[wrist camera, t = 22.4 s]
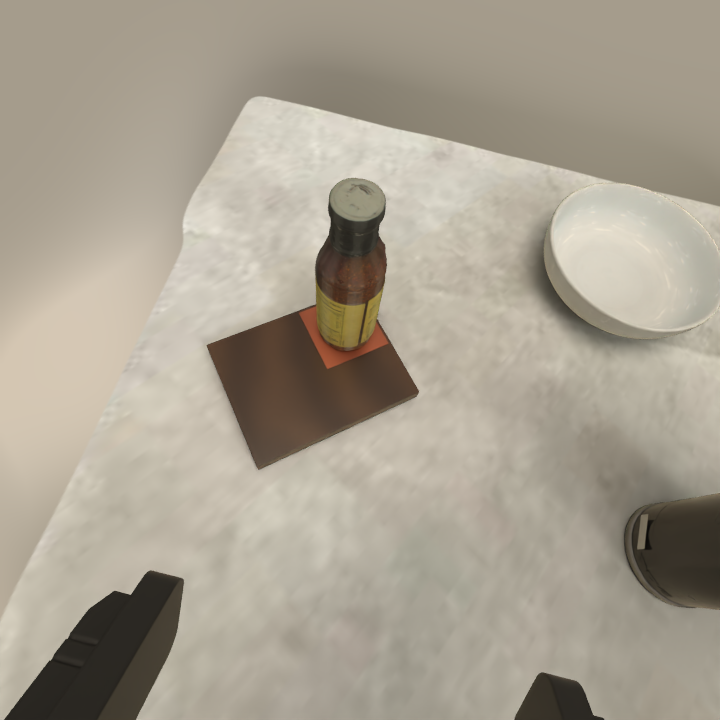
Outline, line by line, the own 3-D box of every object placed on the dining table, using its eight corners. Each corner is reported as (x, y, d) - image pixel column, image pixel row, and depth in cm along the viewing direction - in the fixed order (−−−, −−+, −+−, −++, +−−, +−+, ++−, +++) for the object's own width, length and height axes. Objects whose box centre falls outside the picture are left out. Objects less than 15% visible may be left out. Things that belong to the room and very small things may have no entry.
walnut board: (358, 295, 54) (359, 287, 52) (416, 396, 49) (419, 391, 48) (209, 351, 49) (206, 344, 47) (258, 469, 44) (256, 466, 43)
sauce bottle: (358, 297, 52) (386, 153, 34) (382, 343, 49) (425, 215, 31) (304, 315, 50) (303, 174, 32) (327, 363, 48) (338, 241, 30)
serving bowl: (499, 232, 60) (522, 194, 54) (631, 210, 64) (666, 172, 58) (570, 374, 52) (606, 348, 46) (714, 338, 56) (765, 310, 50)
